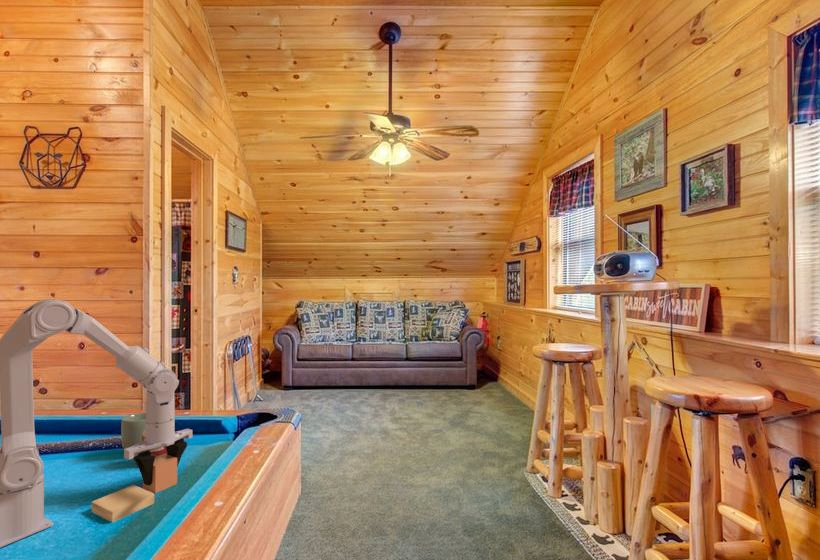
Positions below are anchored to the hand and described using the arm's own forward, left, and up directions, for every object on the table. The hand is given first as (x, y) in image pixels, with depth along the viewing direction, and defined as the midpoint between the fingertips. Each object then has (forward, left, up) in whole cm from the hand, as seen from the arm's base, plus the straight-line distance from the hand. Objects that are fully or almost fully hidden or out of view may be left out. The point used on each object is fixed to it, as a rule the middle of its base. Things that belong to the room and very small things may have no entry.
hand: (160, 478), depth 95 cm
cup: (+8, +24, -2) cm, 25 cm away
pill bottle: (+7, +14, -2) cm, 16 cm away
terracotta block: (0, 0, -2) cm, 2 cm away
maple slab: (-9, -3, -2) cm, 10 cm away
